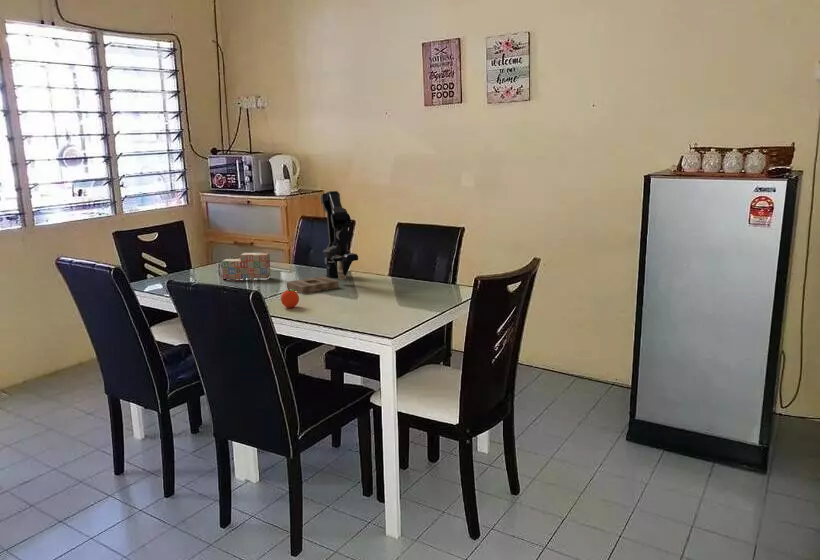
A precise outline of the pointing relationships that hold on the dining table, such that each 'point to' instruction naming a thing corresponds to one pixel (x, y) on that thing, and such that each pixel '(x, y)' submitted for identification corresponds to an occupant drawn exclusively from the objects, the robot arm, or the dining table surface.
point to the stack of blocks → (247, 266)
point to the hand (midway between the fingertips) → (342, 274)
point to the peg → (340, 271)
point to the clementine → (290, 298)
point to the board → (313, 284)
